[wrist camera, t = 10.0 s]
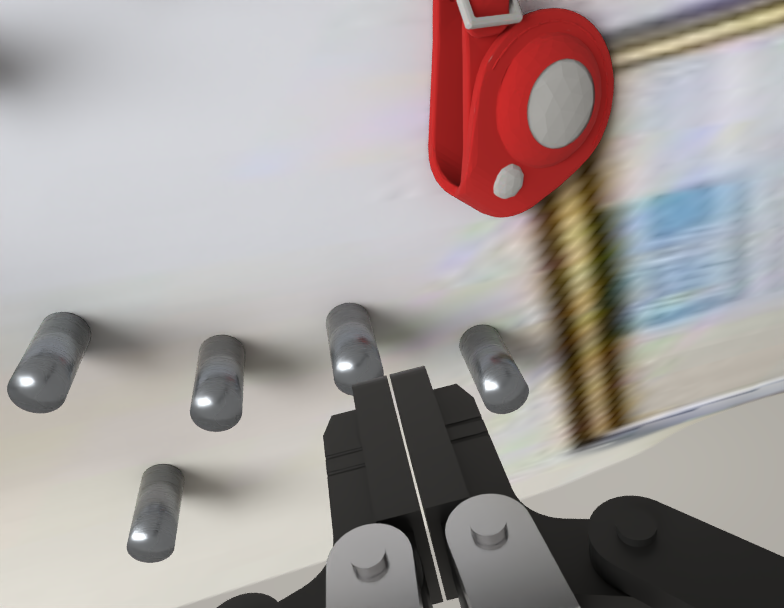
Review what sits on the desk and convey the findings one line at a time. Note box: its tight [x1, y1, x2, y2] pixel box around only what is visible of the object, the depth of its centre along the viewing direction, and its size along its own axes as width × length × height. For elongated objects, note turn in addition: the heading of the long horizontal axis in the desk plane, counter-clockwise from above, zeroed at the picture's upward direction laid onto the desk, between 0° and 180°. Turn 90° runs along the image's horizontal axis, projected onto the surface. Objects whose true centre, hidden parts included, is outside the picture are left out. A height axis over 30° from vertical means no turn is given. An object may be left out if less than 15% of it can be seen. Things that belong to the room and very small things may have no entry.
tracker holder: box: [428, 0, 614, 218], centre depth 30 cm, size 12×4×10 cm
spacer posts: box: [7, 303, 529, 563], centre depth 31 cm, size 23×31×5 cm
